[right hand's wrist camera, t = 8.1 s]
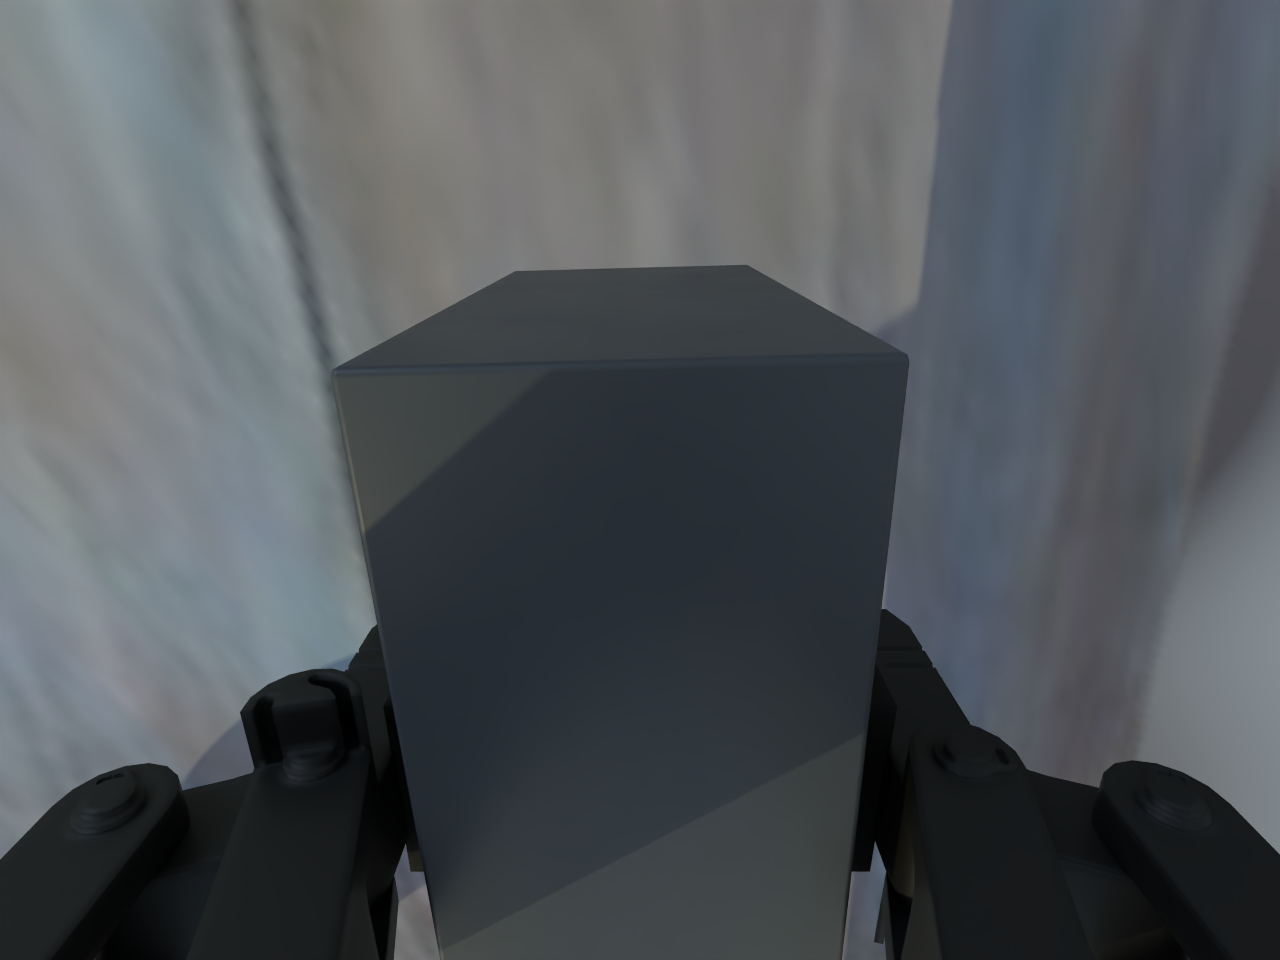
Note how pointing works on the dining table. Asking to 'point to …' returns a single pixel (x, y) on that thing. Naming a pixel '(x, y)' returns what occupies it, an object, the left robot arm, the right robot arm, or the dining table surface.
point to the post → (629, 606)
